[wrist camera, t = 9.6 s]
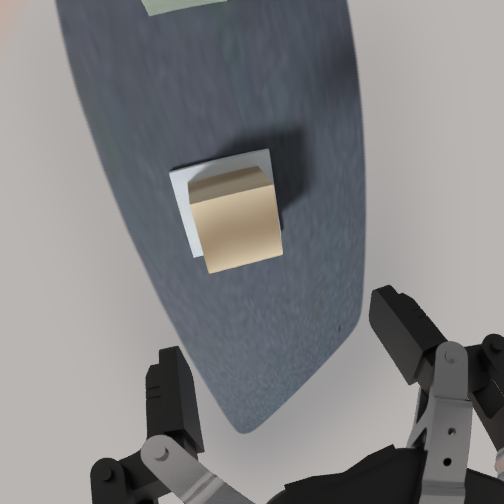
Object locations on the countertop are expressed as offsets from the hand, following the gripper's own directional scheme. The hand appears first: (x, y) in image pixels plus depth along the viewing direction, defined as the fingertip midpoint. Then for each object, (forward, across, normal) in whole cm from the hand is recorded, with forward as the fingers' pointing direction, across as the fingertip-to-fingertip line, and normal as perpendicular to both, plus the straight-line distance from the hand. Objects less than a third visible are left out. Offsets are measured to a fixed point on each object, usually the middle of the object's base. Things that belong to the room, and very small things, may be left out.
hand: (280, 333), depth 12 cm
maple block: (+13, 0, 0) cm, 13 cm away
